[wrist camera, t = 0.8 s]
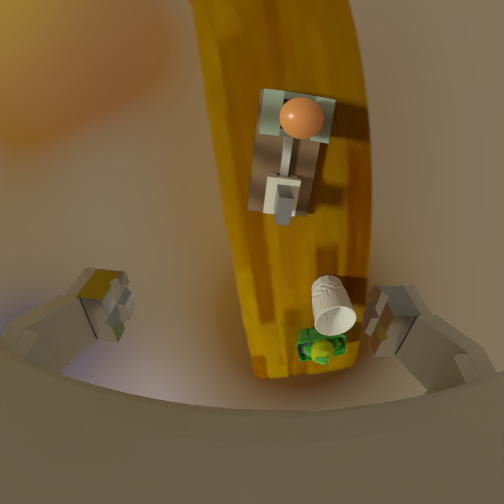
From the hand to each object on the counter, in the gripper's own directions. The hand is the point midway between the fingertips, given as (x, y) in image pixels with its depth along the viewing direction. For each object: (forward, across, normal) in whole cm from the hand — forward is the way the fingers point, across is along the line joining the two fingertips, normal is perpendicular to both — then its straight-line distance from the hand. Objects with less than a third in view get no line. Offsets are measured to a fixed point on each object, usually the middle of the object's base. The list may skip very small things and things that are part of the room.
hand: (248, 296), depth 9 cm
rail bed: (+38, -4, +2) cm, 38 cm away
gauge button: (+29, -5, -4) cm, 30 cm away
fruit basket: (+39, -17, +43) cm, 61 cm away
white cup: (+39, -16, +29) cm, 51 cm away
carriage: (+36, -4, +8) cm, 37 cm away
